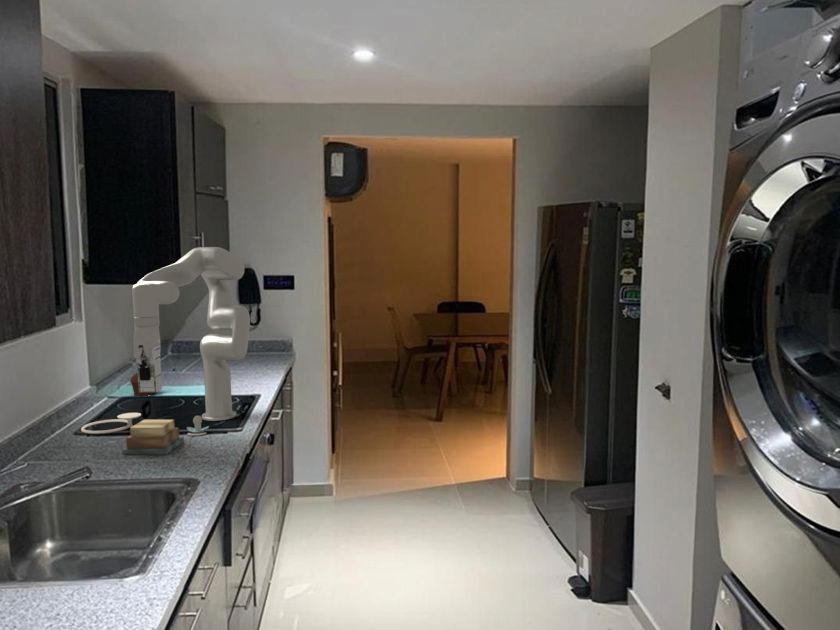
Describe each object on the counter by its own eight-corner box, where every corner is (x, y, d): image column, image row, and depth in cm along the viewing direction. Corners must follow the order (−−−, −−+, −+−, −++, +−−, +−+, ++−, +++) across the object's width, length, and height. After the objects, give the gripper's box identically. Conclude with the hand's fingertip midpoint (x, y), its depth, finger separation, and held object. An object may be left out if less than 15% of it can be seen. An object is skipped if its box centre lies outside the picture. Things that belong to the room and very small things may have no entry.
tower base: (142, 441, 236) (141, 417, 235) (183, 441, 235) (182, 418, 234) (122, 454, 222) (121, 429, 221) (166, 454, 221) (164, 429, 220)
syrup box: (162, 388, 229) (160, 344, 228) (156, 392, 223) (154, 347, 222) (144, 389, 229) (142, 344, 228) (138, 393, 223) (135, 347, 222)
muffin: (164, 392, 312) (162, 369, 311) (152, 397, 301) (150, 374, 300) (138, 391, 313) (137, 369, 312) (125, 397, 302) (124, 374, 301)
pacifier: (206, 436, 241) (210, 431, 247) (205, 418, 241) (209, 414, 246) (184, 437, 241) (188, 432, 247) (183, 419, 240) (187, 414, 246)
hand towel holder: (89, 411, 261) (147, 409, 263) (90, 423, 261) (147, 420, 264) (72, 423, 244) (134, 420, 247) (73, 435, 245) (135, 432, 247)
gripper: (147, 319, 233) (150, 373, 235) (122, 325, 216) (125, 383, 217) (169, 319, 232) (172, 373, 234) (146, 325, 215) (149, 383, 217)
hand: (149, 377), depth 226 cm, fingers closed on syrup box, 6 cm apart
